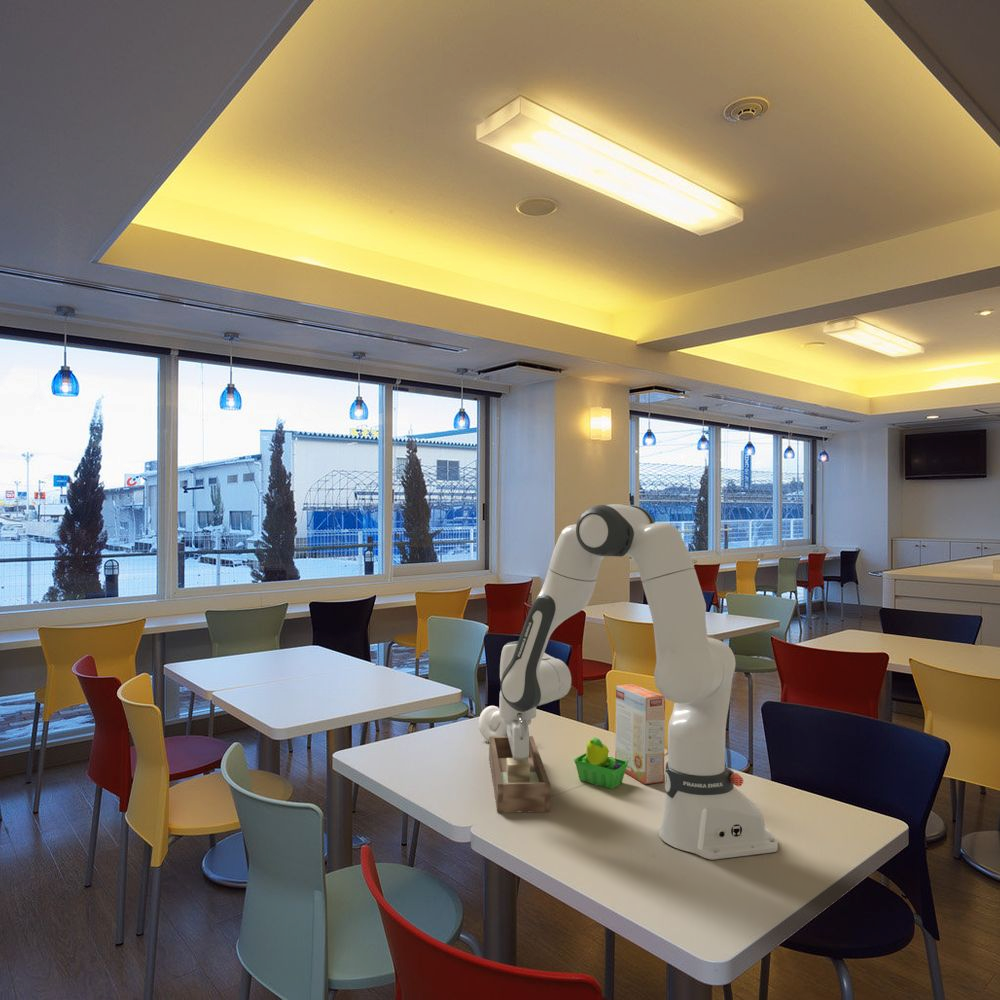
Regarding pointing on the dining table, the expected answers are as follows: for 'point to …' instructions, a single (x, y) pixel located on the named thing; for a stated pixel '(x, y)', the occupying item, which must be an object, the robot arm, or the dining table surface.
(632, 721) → the cracker box
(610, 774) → the fruit basket
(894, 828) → the dining table surface
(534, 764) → the trap lane
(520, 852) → the dining table surface
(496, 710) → the white rounded piece
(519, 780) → the maple block
